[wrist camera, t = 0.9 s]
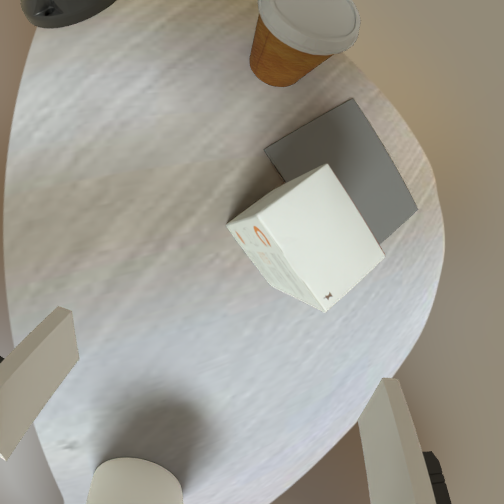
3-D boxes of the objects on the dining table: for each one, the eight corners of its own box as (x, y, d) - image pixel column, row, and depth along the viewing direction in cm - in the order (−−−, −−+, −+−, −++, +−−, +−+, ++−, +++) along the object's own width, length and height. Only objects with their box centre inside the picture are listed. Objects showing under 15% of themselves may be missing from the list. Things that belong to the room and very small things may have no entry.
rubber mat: (263, 150, 33) (264, 149, 33) (351, 99, 35) (352, 98, 35) (343, 274, 35) (344, 274, 35) (416, 209, 38) (418, 209, 37)
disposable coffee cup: (306, 35, 33) (349, -21, 22) (321, 100, 34) (377, 53, 22) (230, 32, 31) (254, -36, 20) (240, 100, 32) (272, 42, 20)
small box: (316, 250, 35) (389, 257, 22) (270, 287, 34) (325, 316, 21) (272, 187, 33) (328, 160, 21) (223, 224, 32) (253, 215, 20)
